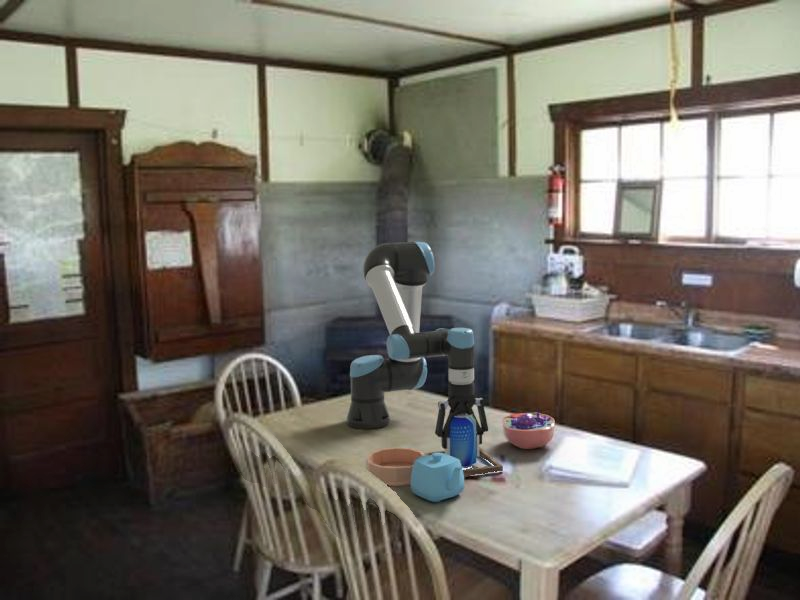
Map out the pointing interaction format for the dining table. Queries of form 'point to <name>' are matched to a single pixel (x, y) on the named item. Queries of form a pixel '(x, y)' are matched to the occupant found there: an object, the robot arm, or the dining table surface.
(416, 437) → the dining table surface
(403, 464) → the dish
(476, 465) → the stone
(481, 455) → the tray
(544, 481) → the dining table surface
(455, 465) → the teapot
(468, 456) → the beer can
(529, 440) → the cell model
